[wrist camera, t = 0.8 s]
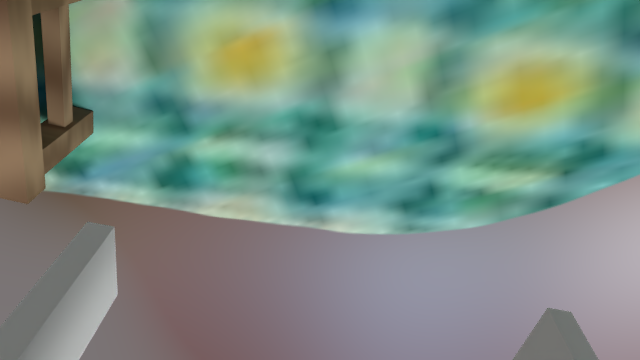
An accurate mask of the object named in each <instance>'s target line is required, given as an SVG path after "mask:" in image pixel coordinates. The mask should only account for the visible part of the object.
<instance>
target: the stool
mask: <svg viewBox="0 0 640 360" xmlns="http://www.w3.org/2000/svg"><path fill="white" fill-rule="evenodd" d="M77 1H81V0H0V198H3V199H7V200H12V201H16V202H21V203H26V204H29V203H30V202H31V201H32V200H33V199H34V198H35V197H36V196H37V195H38V194H40V192H42V191H43V190H44V189H45V174H46V173H47V172H48V171H49V170H50V169H52V168H53V167H54V166H55V165H56V164H57V163H59V162H60V161H61V160H62V159H63V158H64V157H66V156H67V155H68V154H69V153H70V152H71V151H73V150H74V149H75V148H76V147H77V146H78V145H80V144H81V143H82V142H83V141H84V140H85V139H87V138H88V137H89V136H90V135H91V134H92V133H93V111H91V110H86V109H82V108H78V107H74V106H72V83H71V56H70V29H69V4H71V3H74V2H77ZM38 13H41V25H42V40H43V54H44V69H45V84H46V99H47V113H48V119H47V120H45V121H44V122H43V123H40V110H39V97H38V85H37V72H36V59H35V46H34V33H33V20H32V15H35V14H38Z"/></svg>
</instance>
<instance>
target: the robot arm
mask: <svg viewBox="0 0 640 360" xmlns="http://www.w3.org/2000/svg"><path fill="white" fill-rule="evenodd" d="M116 274H117V273H116V251H115V229H114V227H112V226H107V225H101V224H96V223H91V222H87V223H86V224H85V225H84V226H83V228H82V229H81V230H80V231H79V232H78V234H77V235H76V236H75V237H74V239H73V240H72V241H71V242H70V243H69V244H68V246H67V247H66V248H65V249H64V251H63V252H62V253H61V254H60V255H59V257H58V258H57V259H56V260H55V261H54V263H53V264H52V265H51V266H50V268H49V269H48V270H47V271H46V272H45V273H44V275H43V276H42V277H41V278H40V279H39V281H38V282H37V283H36V285H34V287H33V288H32V289H31V290H30V291H29V293H28V294H27V295H26V296H25V298H24V299H23V300H22V301H21V302H20V304H19V305H18V306H17V307H16V308H15V310H14V311H13V312H12V313H11V314H10V316H9V317H8V318H7V319H6V320H5V322H4V323H3V324H2V325H1V326H0V360H79V359H80V357H81V355H82V354H83V352H84V350H85V349H86V347H87V345H88V343H89V342H90V340H91V338H92V337H93V335H94V333H95V332H96V330H97V328H98V327H99V325H100V323H101V322H102V320H103V318H104V316H105V315H106V313H107V311H108V310H109V308H110V306H111V305H112V303H113V301H114V300H115V298H116V296H117V275H116ZM513 360H598V358H597V357H596V355H595V353H594V351H593V349H592V348H591V346H590V344H589V342H588V341H587V339H586V337H585V335H584V334H583V332H582V330H581V329H580V327H579V325H578V323H577V321H576V320H575V318H574V316H573V315H572V313H571V312H567V311H562V310H557V309H551V308H547V310H546V311H545V313H544V314H543V315H542V317H541V319H540V320H539V322H538V323H537V324H536V326H535V327H534V329H533V330H532V332H531V333H530V335H529V337H528V338H527V339H526V341H525V342H524V344H523V345H522V347H521V348H520V350H519V351H518V353H517V354H516V356H515V357H514V359H513Z"/></svg>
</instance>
